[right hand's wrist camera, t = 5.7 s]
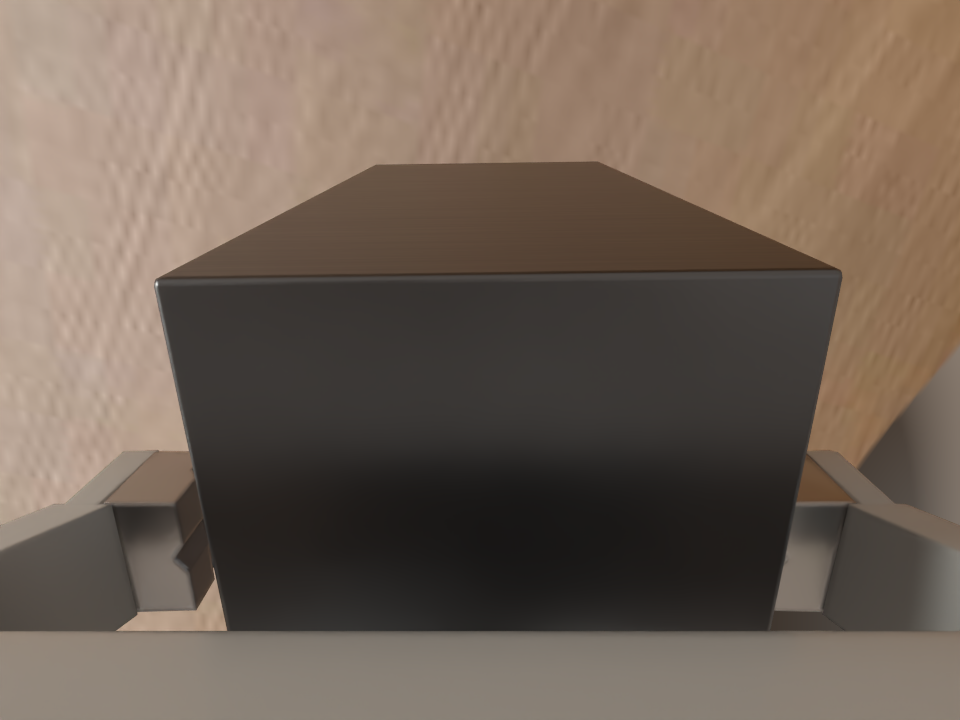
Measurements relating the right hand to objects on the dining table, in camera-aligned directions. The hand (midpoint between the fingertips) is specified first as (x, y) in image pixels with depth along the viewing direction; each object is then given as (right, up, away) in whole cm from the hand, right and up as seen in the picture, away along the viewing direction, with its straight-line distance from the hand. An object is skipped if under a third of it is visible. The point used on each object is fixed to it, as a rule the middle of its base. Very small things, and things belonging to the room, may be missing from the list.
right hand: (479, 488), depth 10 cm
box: (0, -5, +12) cm, 13 cm away
